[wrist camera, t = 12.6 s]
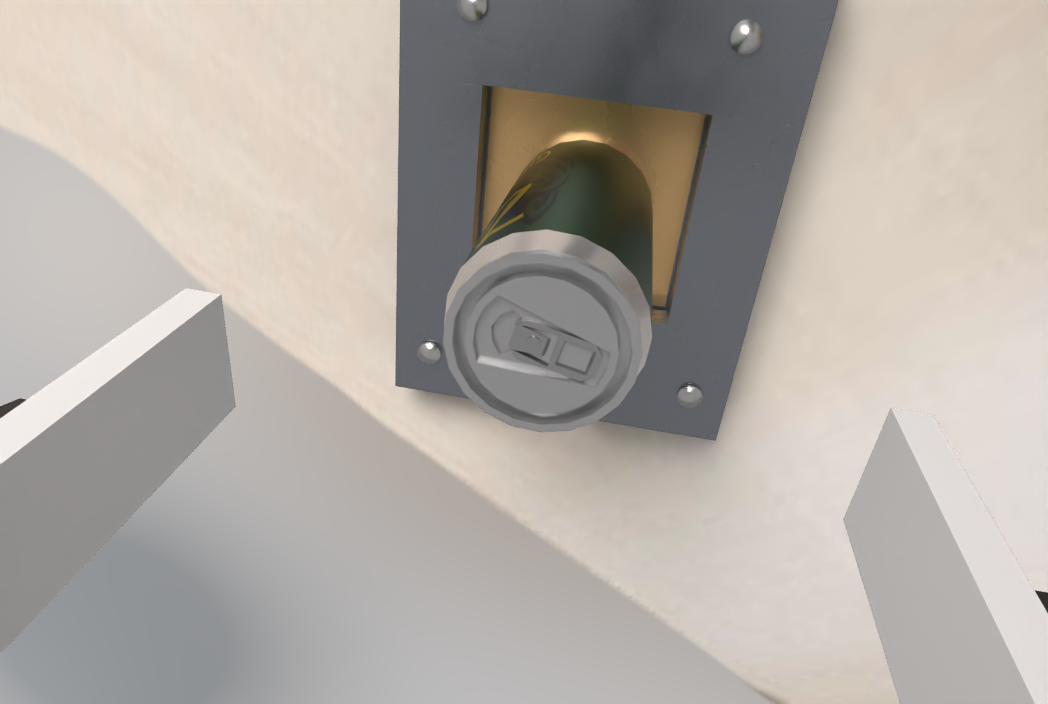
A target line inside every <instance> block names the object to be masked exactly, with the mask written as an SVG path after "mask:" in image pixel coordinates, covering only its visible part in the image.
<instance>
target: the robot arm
mask: <svg viewBox="0 0 1048 704" xmlns="http://www.w3.org/2000/svg"><path fill="white" fill-rule="evenodd" d="M235 406H236V405H235V398H234V390H233V382H232V374H231V366H230V359H229V351H228V343H227V336H226V327H225V320H224V312H223V304H222V296H221V294H217V293H211V292H205V291H199V290H193V289H187V288H186V289H184V290H183V291H181V292H180V293H178V294H177V295H176V296H174V297H173V298H171V299H170V300H169V301H167V302H166V303H164V304H163V305H161V306H160V307H159V308H157V309H156V310H154V311H153V312H151V313H150V314H149V315H147V316H146V317H144V318H143V319H141V320H140V321H139V322H137V323H136V324H135V325H133V326H131V327H130V328H129V329H127V330H126V331H124V332H123V333H122V334H120V335H119V336H117V337H116V338H114V339H113V340H111V341H110V342H109V343H107V344H106V345H104V346H103V347H102V348H100V349H99V350H97V351H96V352H94V353H93V354H92V355H90V356H89V357H87V358H86V359H84V360H83V361H82V362H80V363H79V364H77V365H76V366H74V367H73V368H72V369H70V370H69V371H67V372H66V373H64V374H63V375H62V376H60V377H59V378H57V379H56V380H55V381H53V382H52V383H50V384H49V385H47V386H46V387H44V388H43V389H42V390H40V391H39V392H37V393H36V394H34V395H33V396H32V397H30V398H29V399H27V400H25V399H17V400H15V401H13V402H10V403H8V404H5V405H3V406H0V654H1V653H2V652H3V651H4V650H5V649H6V648H7V647H8V646H9V645H10V644H11V643H12V642H13V641H14V639H16V637H17V636H18V635H19V634H20V633H21V632H22V631H23V630H24V629H25V628H26V627H27V626H28V625H29V624H30V623H31V622H32V621H33V620H34V618H35V617H36V616H37V615H38V614H39V613H40V612H41V611H42V610H43V609H44V608H45V607H46V606H47V605H48V604H49V603H50V602H51V601H52V600H53V599H54V597H55V596H56V595H57V594H58V593H59V592H60V591H61V590H62V589H63V588H64V587H65V586H66V585H67V584H68V583H69V582H70V580H72V578H73V577H74V576H75V575H76V574H77V573H78V572H79V571H80V570H81V569H82V568H83V567H84V566H85V565H86V564H87V563H88V562H89V561H90V559H91V558H92V557H93V556H94V555H95V554H96V553H97V552H98V551H99V550H100V549H101V548H102V547H103V546H104V545H105V543H107V542H108V540H109V539H110V538H111V537H112V536H113V535H114V534H115V533H116V532H117V531H118V530H119V529H120V527H122V526H123V525H124V523H126V521H127V520H128V519H129V518H130V517H131V516H132V515H133V514H134V513H135V512H136V511H137V510H138V509H139V508H140V507H141V506H142V505H143V503H144V502H145V501H146V500H147V499H148V498H149V497H150V496H151V495H152V494H153V493H154V492H155V491H156V490H157V489H158V488H159V487H160V486H161V485H162V484H163V482H164V481H165V480H166V479H167V478H168V477H169V476H170V475H171V474H172V473H173V472H174V471H175V470H176V469H177V468H178V466H180V464H181V463H182V462H183V461H184V460H185V459H186V458H187V457H188V456H189V455H190V454H191V453H192V452H193V451H194V450H195V449H196V448H197V447H198V446H199V444H200V443H201V442H202V441H203V440H204V439H205V438H206V437H207V436H208V435H209V434H210V433H211V432H212V431H213V430H214V429H215V427H217V425H218V424H219V423H220V422H221V421H222V420H223V419H224V418H225V417H226V416H227V415H228V414H229V413H230V412H231V411H232V410H233V408H235ZM843 520H844V523H845V526H846V530H847V533H848V536H849V539H850V543H851V546H852V549H853V552H854V555H855V559H856V562H857V565H858V568H859V572H860V575H861V578H862V581H863V585H864V588H865V591H866V594H867V598H868V601H869V604H870V607H871V611H872V614H873V617H874V620H875V624H876V627H877V630H878V633H879V637H880V640H881V643H882V646H883V650H884V653H885V656H886V659H887V663H888V666H889V669H890V672H891V676H892V679H893V682H894V685H895V689H896V692H897V695H898V698H899V702H900V704H1048V593H1046V592H1040V591H1035V590H1034V589H1033V587H1032V585H1031V583H1030V582H1029V580H1028V578H1027V576H1026V575H1025V573H1024V571H1023V569H1022V568H1021V566H1020V564H1019V562H1018V561H1017V559H1016V557H1015V555H1014V554H1013V552H1012V550H1011V548H1010V547H1009V545H1008V543H1007V541H1006V540H1005V538H1004V536H1003V534H1002V533H1001V531H1000V529H999V527H998V526H997V524H996V522H995V520H994V519H993V517H992V515H991V513H990V512H989V510H988V508H987V506H986V505H985V503H984V501H983V499H982V498H981V496H980V494H979V492H978V491H977V489H976V487H975V486H974V484H973V482H972V480H971V479H970V477H969V475H968V473H967V472H966V470H965V468H964V466H963V465H962V463H961V461H960V459H959V458H958V456H957V454H956V452H955V451H954V449H953V447H952V445H951V444H950V442H949V440H948V438H947V437H946V435H945V433H944V431H943V430H942V428H941V426H940V424H939V423H938V421H937V419H936V417H935V416H934V415H931V414H925V413H919V412H913V411H907V410H901V409H895V408H891V409H890V411H889V413H888V416H887V418H886V420H885V423H884V425H883V427H882V430H881V432H880V435H879V437H878V439H877V442H876V444H875V446H874V449H873V451H872V453H871V456H870V458H869V460H868V463H867V465H866V467H865V470H864V472H863V475H862V477H861V479H860V482H859V484H858V486H857V489H856V491H855V493H854V496H853V498H852V500H851V503H850V505H849V508H848V510H847V512H846V515H845V517H844V519H843Z"/></svg>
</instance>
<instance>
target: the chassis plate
mask: <svg viewBox="0 0 1048 704" xmlns="http://www.w3.org/2000/svg"><path fill="white" fill-rule="evenodd" d="M837 3H838V0H400V70H399V148H398V227H397V305H396V384H395V386H399V387H405V388H411V389H417V390H423V391H428V392H434V393H440V394H446V395H452V396H458V397H463V398H469V397H468V396H467V395H466V394H465V393H464V392H463V391H462V389H461V387H460V386H459V384H458V382H457V381H456V379H455V377H454V376H453V374H452V373H451V371H450V369H449V366H448V362H447V357H446V353H445V349H444V345H443V335H444V320H445V310H446V301H447V294H448V292H449V290H450V288H451V286H452V284H453V282H454V280H455V278H456V276H457V274H458V272H459V270H460V268H461V266H462V265H463V263H464V262H465V260H466V258H467V257H468V255H469V254H470V252H471V251H472V249H473V248H474V246H475V244H476V243H477V241H478V240H479V238H480V237H481V235H482V234H483V232H484V230H485V229H486V227H487V226H488V224H489V223H490V221H491V220H492V218H493V216H494V215H495V213H496V212H497V210H498V209H499V207H500V206H501V204H502V202H503V201H504V199H505V198H506V196H507V195H508V193H509V191H510V190H511V188H512V187H513V185H514V184H515V182H516V181H517V179H518V177H519V176H520V174H521V173H522V171H523V170H524V168H525V167H526V166H527V165H528V164H529V163H530V162H531V161H532V160H533V159H534V158H535V157H536V156H537V155H538V154H539V153H540V152H542V151H544V150H546V149H549V148H551V147H553V146H555V145H557V144H559V143H561V142H568V141H576V140H583V139H584V140H589V141H594V142H600V143H605V144H608V145H609V146H611V147H613V148H615V149H617V150H618V151H620V152H622V153H624V154H626V155H627V156H628V157H629V158H630V159H631V160H632V162H633V163H634V164H635V165H636V166H637V167H638V168H639V169H640V170H641V171H642V173H643V175H644V178H645V180H646V182H647V185H648V187H649V189H650V191H651V198H652V210H653V293H652V340H651V344H650V348H649V351H648V355H647V359H646V362H645V366H644V367H643V369H642V370H641V372H640V373H639V374H638V376H637V378H636V381H635V384H634V385H633V386H632V388H631V389H630V391H629V392H628V393H627V395H626V396H625V398H624V399H623V401H622V402H621V403H620V405H619V406H617V407H616V408H615V409H613V410H612V411H610V412H609V413H608V414H606V415H605V416H604V417H602V418H601V419H599V420H598V421H604V422H610V423H616V424H621V425H627V426H633V427H639V428H645V429H651V430H657V431H662V432H668V433H674V434H680V435H686V436H692V437H698V438H703V439H709V440H716V437H717V433H718V430H719V426H720V423H721V419H722V415H723V412H724V408H725V405H726V401H727V397H728V394H729V390H730V387H731V383H732V380H733V376H734V372H735V369H736V365H737V362H738V358H739V354H740V351H741V347H742V344H743V340H744V337H745V333H746V329H747V326H748V322H749V319H750V315H751V312H752V308H753V304H754V301H755V297H756V294H757V290H758V286H759V283H760V279H761V276H762V272H763V269H764V265H765V261H766V258H767V254H768V251H769V247H770V243H771V240H772V236H773V233H774V229H775V226H776V222H777V218H778V215H779V211H780V208H781V204H782V200H783V197H784V193H785V190H786V186H787V183H788V179H789V175H790V172H791V168H792V165H793V161H794V158H795V154H796V150H797V147H798V143H799V140H800V136H801V132H802V129H803V125H804V122H805V118H806V115H807V111H808V107H809V104H810V100H811V97H812V93H813V89H814V86H815V82H816V79H817V75H818V72H819V68H820V64H821V61H822V57H823V54H824V50H825V46H826V43H827V39H828V36H829V32H830V29H831V25H832V21H833V18H834V14H835V11H836V7H837ZM469 399H470V398H469Z"/></svg>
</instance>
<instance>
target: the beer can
mask: <svg viewBox="0 0 1048 704" xmlns="http://www.w3.org/2000/svg"><path fill="white" fill-rule="evenodd" d="M652 293H653V210H652V198H651V191H650V189H649V187H648V185H647V182H646V180H645V178H644V175H643V173H642V171H641V170H640V169H639V168H638V167H637V166H636V165H635V164H634V163H633V162H632V160H631V159H630V158H629V157H628V156H627V155H626V154H624V153H622V152H620V151H618V150H617V149H615V148H613V147H611V146H609V145H608V144H605V143H600V142H594V141H589V140H584V139H583V140H576V141H568V142H561V143H559V144H557V145H555V146H553V147H551V148H549V149H546V150H544V151H542V152H540V153H539V154H538V155H537V156H536V157H535V158H534V159H533V160H532V161H531V162H530V163H529V164H528V165H527V166H526V167H525V168H524V170H523V171H522V173H521V174H520V176H519V177H518V179H517V181H516V182H515V184H514V185H513V187H512V188H511V190H510V191H509V193H508V195H507V196H506V198H505V199H504V201H503V202H502V204H501V206H500V207H499V209H498V210H497V212H496V213H495V215H494V216H493V218H492V220H491V221H490V223H489V224H488V226H487V227H486V229H485V230H484V232H483V234H482V235H481V237H480V238H479V240H478V241H477V243H476V244H475V246H474V248H473V249H472V251H471V252H470V254H469V255H468V257H467V258H466V260H465V262H464V263H463V265H462V266H461V268H460V270H459V272H458V274H457V276H456V278H455V280H454V282H453V284H452V286H451V288H450V290H449V292H448V294H447V301H446V310H445V320H444V335H443V345H444V349H445V353H446V357H447V362H448V366H449V369H450V371H451V373H452V374H453V376H454V377H455V379H456V381H457V382H458V384H459V386H460V387H461V389H462V391H463V392H464V393H465V394H466V395H467V396H468V397H469V398H470V399H471V400H472V401H473V402H474V403H475V404H477V405H478V406H479V407H480V408H481V409H482V410H483V411H484V412H485V413H487V414H489V415H491V416H493V417H495V418H497V419H499V420H501V421H503V422H505V423H507V424H509V425H511V426H515V427H519V428H524V429H529V430H533V431H538V432H552V431H570V430H573V429H576V428H579V427H582V426H585V425H588V424H591V423H594V422H597V421H598V420H599V419H601V418H602V417H604V416H605V415H606V414H608V413H609V412H610V411H612V410H613V409H615V408H616V407H617V406H619V405H620V403H621V402H622V401H623V399H624V398H625V396H626V395H627V393H628V392H629V391H630V389H631V388H632V386H633V385H634V384H635V381H636V378H637V376H638V374H639V373H640V372H641V370H642V369H643V367H644V366H645V362H646V359H647V355H648V351H649V348H650V344H651V340H652Z"/></svg>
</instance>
